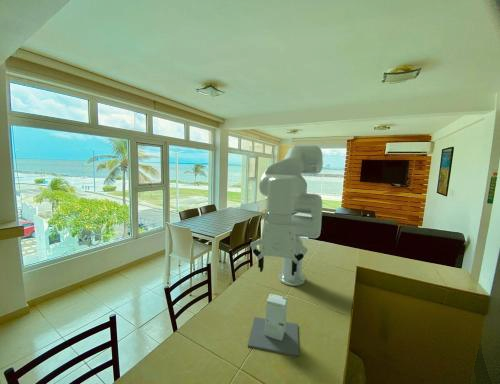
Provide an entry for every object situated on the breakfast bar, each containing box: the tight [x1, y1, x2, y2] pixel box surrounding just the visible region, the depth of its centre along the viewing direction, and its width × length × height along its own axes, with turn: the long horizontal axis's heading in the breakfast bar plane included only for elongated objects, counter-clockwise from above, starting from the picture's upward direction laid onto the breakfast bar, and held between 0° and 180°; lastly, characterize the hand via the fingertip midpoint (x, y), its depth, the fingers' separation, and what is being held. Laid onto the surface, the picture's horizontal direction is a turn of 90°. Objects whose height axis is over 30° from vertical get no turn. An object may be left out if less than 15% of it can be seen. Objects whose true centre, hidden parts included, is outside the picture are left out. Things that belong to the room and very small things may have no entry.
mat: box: [247, 316, 300, 357], centre depth 68 cm, size 12×15×1 cm
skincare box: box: [265, 293, 288, 341], centre depth 67 cm, size 6×4×12 cm
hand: (277, 271), depth 65 cm, fingers open, 9 cm apart
